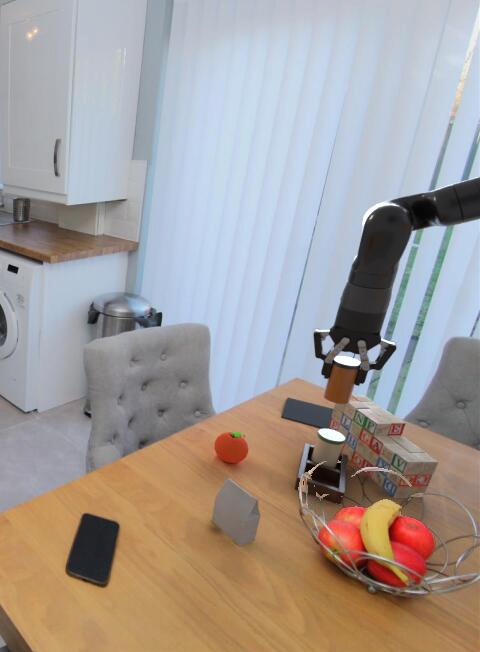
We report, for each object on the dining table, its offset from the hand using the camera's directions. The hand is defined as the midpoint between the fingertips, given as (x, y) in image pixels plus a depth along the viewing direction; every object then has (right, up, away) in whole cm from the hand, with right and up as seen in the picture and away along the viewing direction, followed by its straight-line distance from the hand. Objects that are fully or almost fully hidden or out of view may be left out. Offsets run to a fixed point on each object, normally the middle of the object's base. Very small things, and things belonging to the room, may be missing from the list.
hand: (341, 380), depth 102 cm
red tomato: (-18, -20, +10) cm, 29 cm away
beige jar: (0, -20, +5) cm, 21 cm away
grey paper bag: (-29, -28, -9) cm, 41 cm away
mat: (+12, -12, +25) cm, 30 cm away
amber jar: (0, -4, +2) cm, 4 cm away
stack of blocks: (+11, -20, +6) cm, 24 cm away
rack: (-2, -22, +3) cm, 22 cm away
